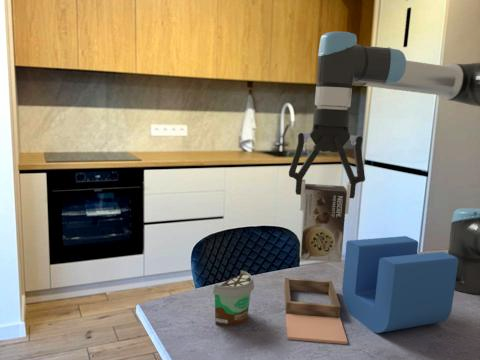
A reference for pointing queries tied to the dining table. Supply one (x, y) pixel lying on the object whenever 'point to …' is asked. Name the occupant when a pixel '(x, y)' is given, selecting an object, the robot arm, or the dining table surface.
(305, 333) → the terracotta tile
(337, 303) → the walnut frame
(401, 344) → the dining table surface
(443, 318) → the block
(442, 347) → the dining table surface
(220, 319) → the food container
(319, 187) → the coffee box
